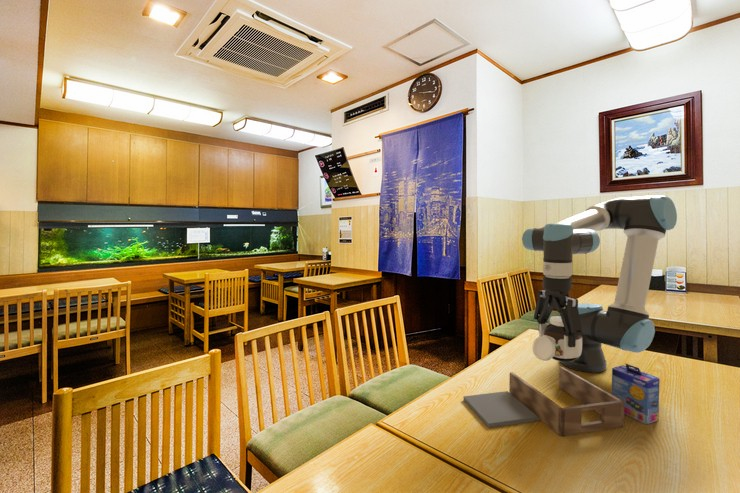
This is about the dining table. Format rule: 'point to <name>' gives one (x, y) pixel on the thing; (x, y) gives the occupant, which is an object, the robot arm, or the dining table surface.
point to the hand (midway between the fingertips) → (555, 350)
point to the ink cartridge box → (637, 393)
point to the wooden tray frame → (571, 417)
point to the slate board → (500, 409)
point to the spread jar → (555, 342)
